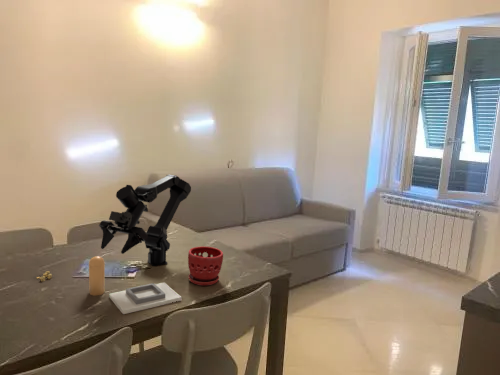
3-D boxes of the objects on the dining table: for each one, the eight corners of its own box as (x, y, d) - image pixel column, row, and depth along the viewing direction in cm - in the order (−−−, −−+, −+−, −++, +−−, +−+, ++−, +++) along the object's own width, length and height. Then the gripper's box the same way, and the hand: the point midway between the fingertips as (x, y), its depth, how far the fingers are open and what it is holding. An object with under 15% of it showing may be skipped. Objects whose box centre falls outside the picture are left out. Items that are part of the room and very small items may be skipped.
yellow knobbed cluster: (48, 275, 155) (48, 270, 154) (55, 279, 152) (55, 274, 151) (34, 279, 151) (34, 274, 151) (41, 283, 148) (41, 278, 147)
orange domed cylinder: (102, 288, 145) (102, 253, 143) (106, 293, 141) (106, 257, 139) (87, 291, 142) (87, 255, 140) (91, 296, 138) (91, 260, 136)
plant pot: (194, 290, 148) (195, 258, 146) (182, 277, 159) (183, 247, 157) (227, 285, 154) (228, 254, 152) (213, 272, 165) (215, 244, 163)
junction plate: (164, 285, 150) (164, 278, 150) (181, 300, 139) (181, 292, 139) (109, 297, 139) (109, 289, 138) (123, 314, 128) (123, 306, 127)
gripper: (102, 199, 151) (79, 234, 143) (143, 206, 144) (121, 244, 136) (117, 215, 160) (96, 250, 152) (156, 223, 153) (136, 259, 144)
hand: (111, 250), depth 146 cm, fingers open, 9 cm apart
